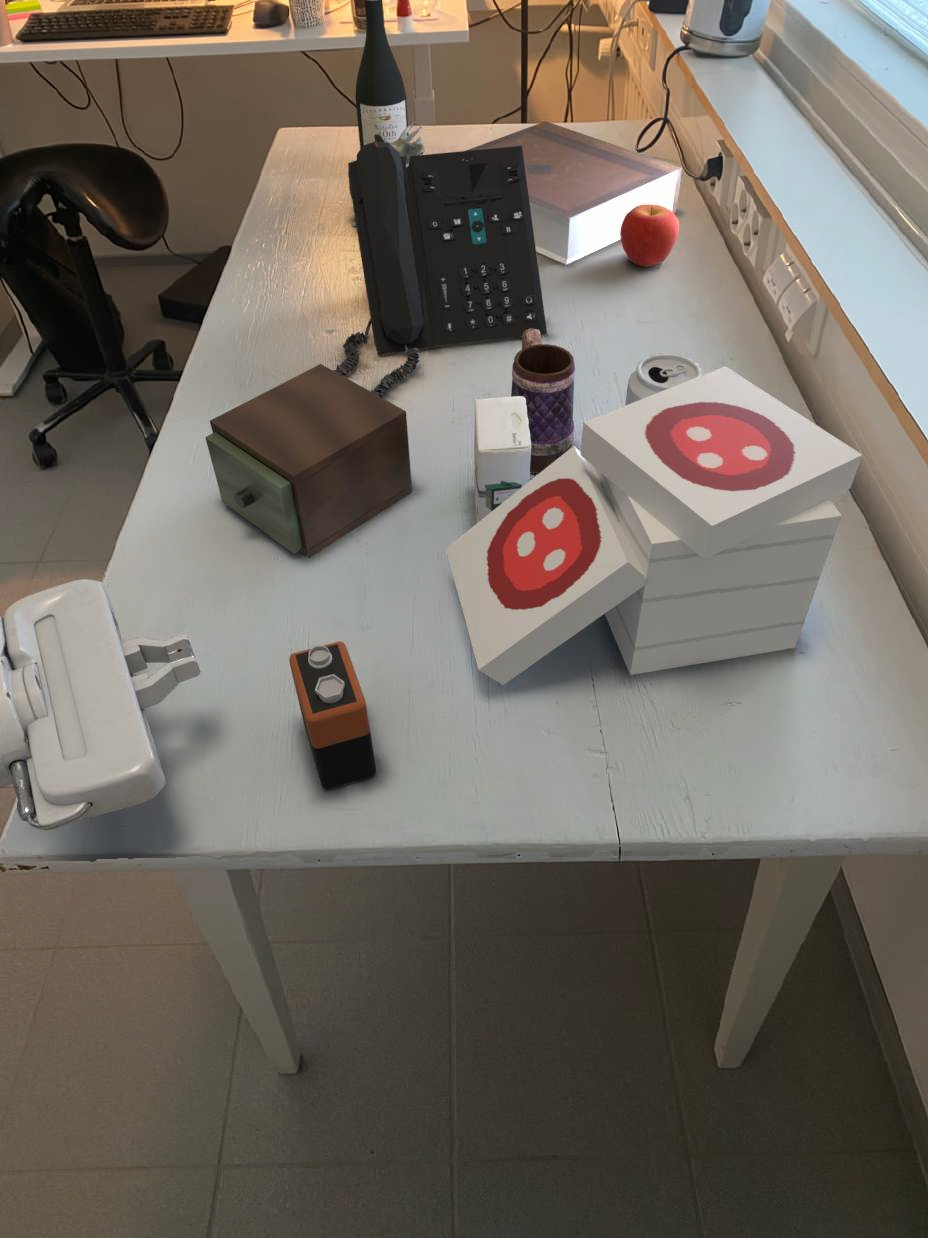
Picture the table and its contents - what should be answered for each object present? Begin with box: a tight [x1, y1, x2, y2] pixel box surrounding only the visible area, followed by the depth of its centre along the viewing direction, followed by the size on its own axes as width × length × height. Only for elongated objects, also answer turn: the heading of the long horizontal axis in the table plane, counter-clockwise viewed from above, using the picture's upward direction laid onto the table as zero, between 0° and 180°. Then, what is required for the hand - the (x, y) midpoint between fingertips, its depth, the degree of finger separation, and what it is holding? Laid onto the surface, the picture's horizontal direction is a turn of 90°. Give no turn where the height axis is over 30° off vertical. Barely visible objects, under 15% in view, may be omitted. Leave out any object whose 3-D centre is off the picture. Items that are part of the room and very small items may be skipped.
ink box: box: [473, 396, 531, 524], centre depth 89 cm, size 9×5×12 cm, turn 2°
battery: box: [288, 640, 377, 791], centre depth 70 cm, size 4×7×10 cm, turn 19°
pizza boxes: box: [445, 365, 863, 686], centre depth 77 cm, size 19×30×18 cm, turn 101°
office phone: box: [332, 141, 548, 399], centre depth 110 cm, size 29×28×20 cm
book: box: [465, 120, 683, 265], centre depth 141 cm, size 24×28×6 cm
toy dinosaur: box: [348, 120, 425, 229], centre depth 138 cm, size 22×8×11 cm, turn 154°
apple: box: [620, 204, 680, 267], centre depth 128 cm, size 8×8×8 cm
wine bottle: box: [354, 0, 409, 169], centre depth 144 cm, size 8×8×30 cm
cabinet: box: [209, 363, 413, 558], centre depth 93 cm, size 14×13×10 cm
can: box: [624, 353, 703, 406], centre depth 94 cm, size 8×8×12 cm
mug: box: [510, 328, 576, 474], centre depth 97 cm, size 10×7×12 cm
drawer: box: [204, 432, 303, 554], centre depth 91 cm, size 14×12×8 cm
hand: (194, 653), depth 70 cm, fingers closed
